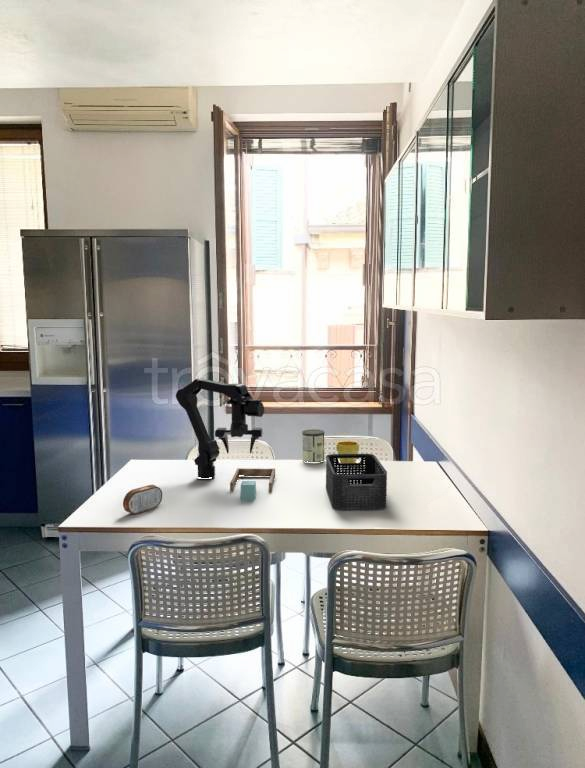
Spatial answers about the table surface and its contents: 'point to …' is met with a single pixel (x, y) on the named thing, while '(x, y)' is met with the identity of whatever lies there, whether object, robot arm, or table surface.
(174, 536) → the table surface
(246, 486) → the teal block
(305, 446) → the coffee can
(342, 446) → the plant pot
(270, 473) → the wooden u-shaped frame
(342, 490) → the storage bin
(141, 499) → the tin
